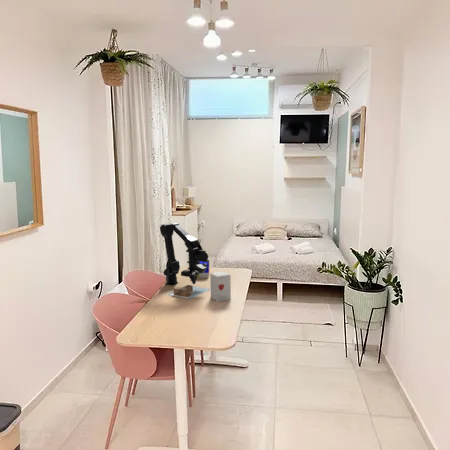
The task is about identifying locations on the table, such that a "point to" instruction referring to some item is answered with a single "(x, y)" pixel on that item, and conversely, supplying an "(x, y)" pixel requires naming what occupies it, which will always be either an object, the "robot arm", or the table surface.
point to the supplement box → (220, 286)
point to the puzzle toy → (206, 273)
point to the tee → (183, 290)
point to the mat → (195, 292)
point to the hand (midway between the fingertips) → (194, 284)
